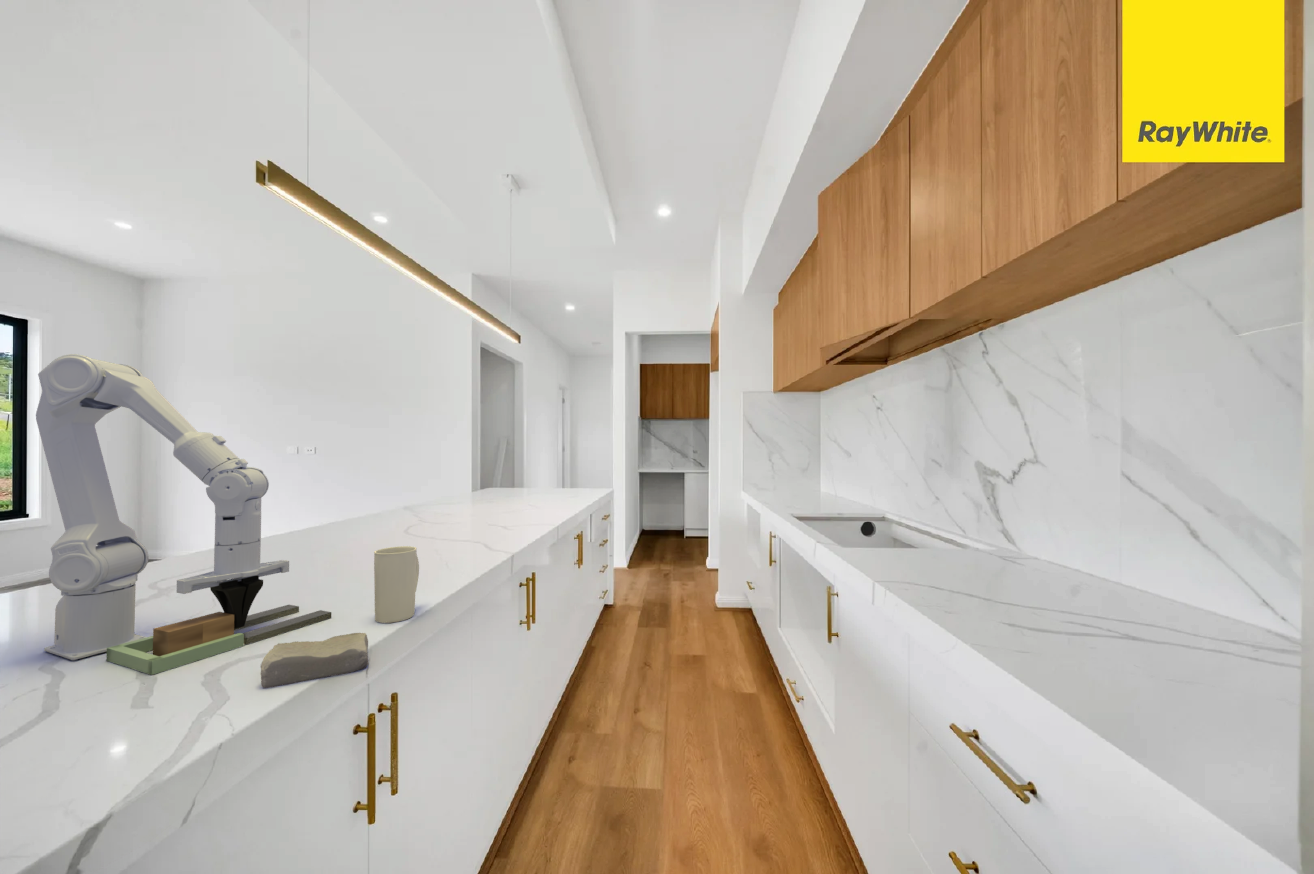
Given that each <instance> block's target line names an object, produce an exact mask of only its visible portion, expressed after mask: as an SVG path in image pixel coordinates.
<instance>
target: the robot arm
mask: <svg viewBox="0 0 1314 874" xmlns="http://www.w3.org/2000/svg"><path fill="white" fill-rule="evenodd" d="M37 375H38V378H39V379H38V380H39V382H40V383H39V384H40V388H41V390H42V391H41V393H40V394H41V395H40V398H39V402H38V404H37V408H36V413H35V420H36V424H37V428H38V432H39V435H40V439H41V443H42V448H43V450H44V454H45V459H46V462H47V466H48V470H49V473H50V477H51V481H52V485H53V489H54V492H55V496H56V500H57V504H58V508H59V512H60V515H61V519H62V522H63V526H64V530H65V531H64V533H63V534H61V536H60V537H59V538H58V539H57V540H56V541H55V542H54V543H53V544H52V546H51V547H50V551H51V556H52V559H51V564H50V566H49V570H48V577H49V581H50V582H51V584H52V585H53V586H54V587H55V588H56V589H57V590H59V591H60V596H62V597H61V598H60V599H59V601H58V602H57V603H56V605H55V609H54V610H55V613H54V640H53V641H54V642H53V645H49V646H46V647H44V650H43V651H45V652H47V653H49V654H53V655H56V656H58V657H59V656H60V657H61V658H65V659H68V660H71V661H75V660H76V661H77V660H78V659H84V658H86V657H92V656H94V655H99V654H103V653H107V648H108V647H112V646H116V645H120V644H124V643H127V642H131V641H135V640H139V639H143V638H146V636H143V635H140V634H136V633H135V624H136V623H135V620H136V619H135V618H136V617H135V616H136V589H137V587H136V583H137V581H138V575H139V574H140V573H142V571H144V569H145V568H146V567H147V565H148V562H149V556H150V555H149V552H148V550H147V548H146V547H145V546H144V545H143V544H142V543H141V542H140V541H139V539H138V537H137V535H136V531H135V529H133V528H131V527H130V526H128V525H127V524H125V523H124V522H122V521H121V520H120V518H119V517H120V516H119V514H118V509H117V505H116V502H115V498H114V495H113V491H112V490H113V489H112V488H111V487H112V486H111V483H110V479H109V476H108V472H107V468H106V464H105V460H104V456H103V453H102V448H101V446H100V445H101V444H100V442H99V438H98V433H97V430H96V423H98V422H99V421H100V420H101V419H102V418H104V417H105V416H106V415H107V414H108V415H109V413H111V412H114V411H115V410H117V409H119V408H126V409H129V410H131V411H132V412H133V413H135V414H136V415H137V416H139V418H141V419H142V420H143V421H144V422H146V423H147V424H148V425H150V426H151V427H152V428H153V429H154V430H156V431H157V432H158V433H160V434H161V435H162V436H163V437H165V438H166V439H167V440H168V441H169V442H171V443H172V444H173V451H172V454H173V457H174V458H175V459H176V460H178V462H180V463H181V464H182V465H183V466H184V467H186V468H187V469H188V470H189V471H190V472H191V473H192V474H193V475H194V476H196V477H197V479H198V480H200V481H201V482H202V483H203V484H204V485H207V486H206V487H205V492H206V495H207V497H208V499H209V500H210V501H211V502H212V503H213V505H214V515H215V516H214V549H213V555H214V556H213V570H212V571H209V572H204V573H201V574H196V575H193V576H189V577H186V578H180V579H179V578H178V579H177V580H176V594H177V593H178V594H181V595H185V594H191V593H192V592H194V591H200V590H204V589H205V590H206V589H210V592H212V594H213V595H214V597H215V598H216V599H217V601H218V603H219V604H220V606H221V608H222V610H223V611H222V612H223V613H228V614H233V615H234V629H237V628H240V627H243V626H245V622H246V619H247V616H248V615H249V613H250V609H251V607H252V606H253V605H252V604H253V603H254V600H255V598H256V597H257V595H258V594H259V592H260V590H261V589H262V588H263V587H264V579H262V578H261V579H260V577H266V576H271V575H275V574H276V575H277V574H280V573H281V574H284V573H289V572H290V560H284V559H281V560H274V561H267V562H261V548H262V547H261V545H262V544H261V541H262V499H263V497H264V496H265V495H266V494H267V492H268V490H269V485H270V482H269V479H268V477H267V476H266V474H265V473H264V471H263V470H262V469H260V468H257V467H254V466H252V467H251V466H248V464H249V462H248V461H247V460H246V459H244V458H240V457H238V456H237V455H236V454H235V453H234V452H233V451H232V450H231V449H230V448H229V447H227V446H226V445H225V443H226V442H227V440H226V439H225V438H224V437H223V436H221V435H214V434H213V433H211V432H201V431H200V432H199V431H197V430H196V429H195V427H194V426H193V425H192V424H191V423H190V422H189V421H188V420H187V419H186V418H185V417H184V416H183V415H182V414H181V413H180V412H179V411H178V410H177V409H176V408H175V407H174V405H172V404H171V403H170V402H169V401H168V400H167V398H165V397H164V396H163V394H161V392H160V391H158V389H157V388H156V386H155V384H154V382H153V381H152V380H150V379H149V378H147V377H145V376H144V375H143V374H142V372H140V371H139V370H138V369H137V368H135V367H133V366H131V365H128V364H122V363H119V364H118V363H114V362H113V363H112V362H110V361H105V360H100V359H95V358H90V357H88V356H87V355H82V354H76V353H74V354H72V353H71V354H64V355H61V356H59V357H56V358H55V359H54V360H52V361H51V362H50V363H48V364H47V365H46V366H45V367H44V368H42V370H40V371H39V372H38V374H37Z"/></svg>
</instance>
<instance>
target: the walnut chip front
mask: <svg viewBox="0 0 1314 874" xmlns="http://www.w3.org/2000/svg"><path fill="white" fill-rule="evenodd" d="M152 630H153V633H152V636H153V650H152V655H156V656H163V655H166V654H169V653H173V652H176V651H180V650H183V649H186V648H190V647H193V646H197V645H200V644H203V623H200V622H196V621H191V620H189V619H186V620H182V621H178V622H174V623H170V624H166V625H163V626H158V627H154V628H153V629H152Z"/></svg>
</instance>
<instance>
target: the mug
mask: <svg viewBox="0 0 1314 874" xmlns="http://www.w3.org/2000/svg"><path fill="white" fill-rule="evenodd" d="M373 553H374V555H373V557H374V558H373V559H374V561H373V571H374V573H373V574H374V577H373V578H374V584H373V585H374V620H375V622H376V623H380V624H390V623H399V622H402V621H406V620H408V619H410V618H412V617H414V616H415V613H416V612H415V609H416V607H415V606H416V605H415V604H416V592H417V587H418V582H419V575H420V561H419V557H418V555H417V547H416V546H410V545H409V546H408V545H407V546H404V545H403V546H392V547H386V548H380V549H377V550H374V552H373Z"/></svg>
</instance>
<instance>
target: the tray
mask: <svg viewBox="0 0 1314 874" xmlns="http://www.w3.org/2000/svg"><path fill="white" fill-rule="evenodd" d="M242 633H243V632H237V633H234V635H230V636H227V637H224V638H220V639H217V640H213V641H210V642H207V643H203V644H200V645H197V646H193V647H190V648H186V649H183V650H180V651H176V652H173V653H169V654H166V655H163V656H156V655H153V653H152V654H151V653H148V652H150V651H151V652H152V651H153V635H150V636H147V637H146V636H145V637H146V638H143V639H139V640H135V641H131V642H127V643H124V644H120V645H116V646H112V647H108V648H107V651H106V656H105V657H106V660H105V661H107V662H109V663H113V664H117V665H118V666H122V667H125V668H128V669H131V670H134V671H138V672H141V673H144V674H147V675H151V676H153V675H156V674H160V673H163V672H166V671H168V670H172V669H175V668H179V667H182V666H184V665H188V664H191V663H194V662H196V661H197V662H198V661H201V660H204V659H206V658H210V657H213V656H216V655H220V654H222V653H226V652H229V651H232V650H235V649H239V648H241V647H244V646H245V644H244V634H242Z"/></svg>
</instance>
